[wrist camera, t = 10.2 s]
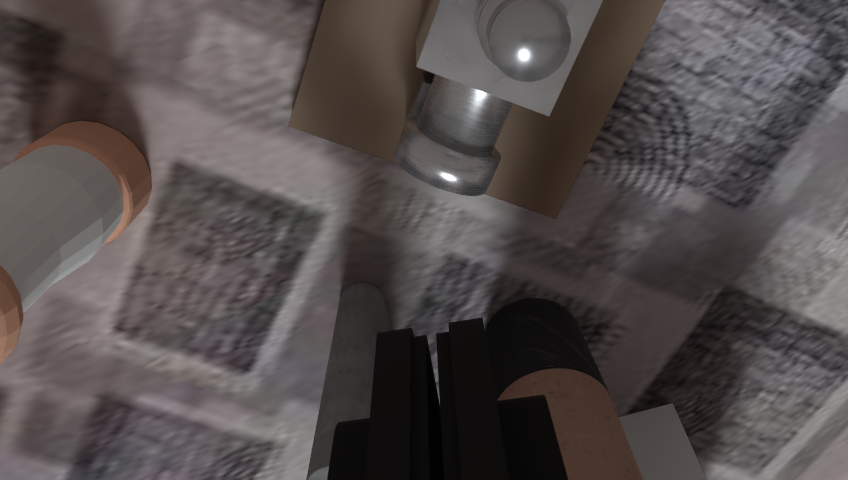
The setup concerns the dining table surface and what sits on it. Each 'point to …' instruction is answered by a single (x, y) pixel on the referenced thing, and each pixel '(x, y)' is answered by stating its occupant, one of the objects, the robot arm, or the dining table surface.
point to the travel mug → (560, 386)
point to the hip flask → (348, 369)
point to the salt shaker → (62, 211)
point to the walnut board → (398, 75)
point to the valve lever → (529, 37)
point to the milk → (661, 445)
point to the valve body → (470, 95)
